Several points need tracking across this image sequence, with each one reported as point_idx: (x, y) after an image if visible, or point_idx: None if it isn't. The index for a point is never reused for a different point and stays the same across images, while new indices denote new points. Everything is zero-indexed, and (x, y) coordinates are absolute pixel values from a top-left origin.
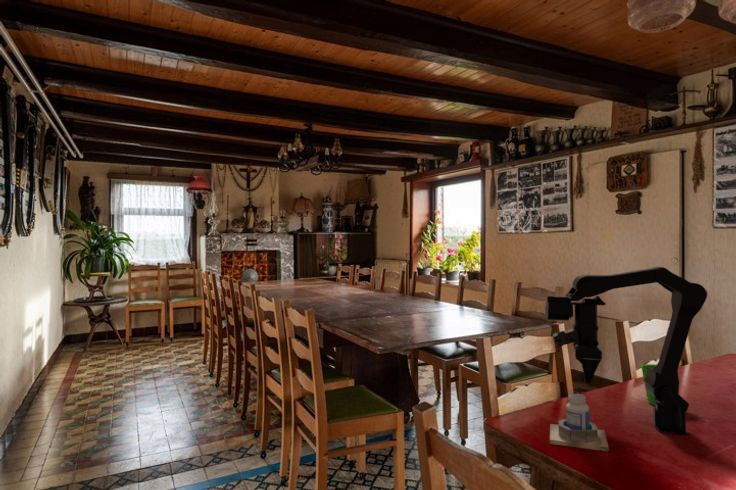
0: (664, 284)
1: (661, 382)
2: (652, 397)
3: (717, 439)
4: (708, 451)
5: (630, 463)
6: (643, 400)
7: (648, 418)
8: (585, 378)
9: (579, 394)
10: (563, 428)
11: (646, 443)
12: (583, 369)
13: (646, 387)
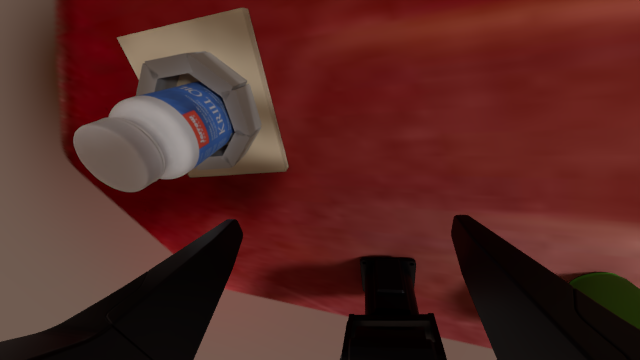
0: None
1: None
2: (593, 296)
3: (364, 311)
4: (303, 292)
5: (175, 201)
6: (634, 265)
7: (451, 253)
8: (206, 234)
9: (140, 171)
10: (141, 80)
11: (285, 231)
12: (133, 282)
13: (420, 343)
